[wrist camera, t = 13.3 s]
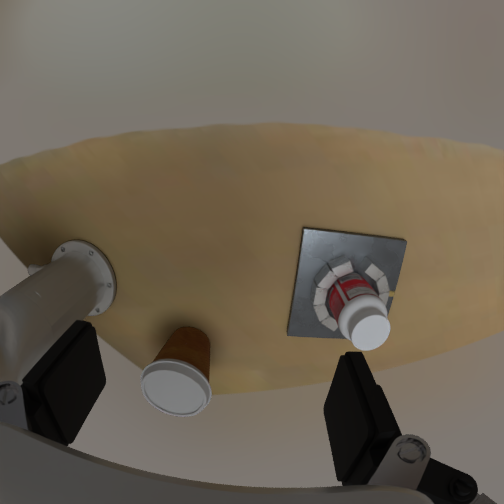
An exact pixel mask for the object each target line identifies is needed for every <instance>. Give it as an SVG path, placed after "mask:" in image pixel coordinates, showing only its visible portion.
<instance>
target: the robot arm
mask: <svg viewBox="0 0 504 504" xmlns="http://www.w3.org/2000/svg"><path fill="white" fill-rule="evenodd" d="M28 273H29V275H31V276H29V277H28V278H26V279H25V280H23V281H22V282H20V283H19V284H17V285H16V286H14V287H13V288H11V289H10V290H9V291H7V292H6V293H4V294H3V295H2V296H0V504H497V503H495V502H494V501H493V500H491V499H490V498H489V497H488V496H486V495H485V494H484V493H482V494H481V495H479V494H478V493H477V492H478V488H477V483H476V481H475V480H474V479H473V478H472V477H471V476H470V475H468V474H465V473H463V472H461V471H459V470H456V469H454V468H452V467H450V466H447V465H445V464H443V463H441V462H439V461H436V460H434V459H432V458H430V455H431V451H430V447H429V446H428V444H427V442H426V441H424V440H423V439H422V438H420V437H419V436H415V435H409V434H406V435H402V434H401V431H400V429H399V427H398V424H397V422H396V420H395V417H394V415H393V413H392V410H391V408H390V406H389V403H388V401H387V399H386V397H385V394H384V392H383V390H382V388H381V386H380V385H377V384H376V382H375V380H374V378H373V375H372V373H371V371H370V369H369V366H368V364H367V362H366V360H365V358H364V355H363V353H362V352H346V353H345V355H341V356H340V359H339V362H338V365H337V368H336V371H335V374H334V378H333V381H332V384H331V387H330V390H329V393H328V396H327V398H326V401H325V404H324V416H325V421H326V426H327V431H328V436H329V441H330V446H331V451H332V455H333V461H334V466H335V471H336V477H337V480H338V481H342V485H343V486H333V487H314V488H266V487H247V486H233V485H224V484H215V483H207V482H200V481H193V480H187V479H181V478H176V477H170V476H165V475H160V474H156V473H151V472H147V471H143V470H139V469H135V468H131V467H128V466H124V465H120V464H117V463H114V462H110V461H107V460H104V459H101V458H98V457H94V456H92V455H89V454H86V453H83V452H81V451H78V450H75V449H72V448H70V447H67V446H68V444H71V443H72V442H73V441H74V440H75V438H76V436H77V434H78V432H79V430H80V429H81V427H82V425H83V423H84V421H85V419H86V418H87V416H88V414H89V412H90V411H91V409H92V407H93V405H94V403H95V402H96V400H97V399H98V397H99V395H100V393H101V392H102V390H103V388H104V386H105V384H106V377H105V372H104V368H103V364H102V360H101V355H100V351H99V345H98V341H97V335H96V330H95V328H94V327H92V324H91V323H90V322H86V321H83V320H84V319H85V317H86V316H87V315H88V316H94V315H99V314H101V313H103V312H104V311H106V310H107V309H108V308H109V307H110V305H111V304H112V302H113V300H114V298H115V294H116V280H115V275H114V272H113V269H112V267H111V265H110V263H109V261H108V260H107V258H106V257H105V256H104V254H103V253H102V252H101V251H100V250H99V249H98V248H96V247H95V246H93V245H92V244H90V243H88V242H85V241H81V240H71V241H67V242H66V243H64V244H62V245H61V246H59V247H58V248H57V249H56V251H55V252H54V254H53V256H52V259H51V263H49V264H48V265H46V264H45V265H43V266H40V265H35V264H30V265H29V267H28Z"/></svg>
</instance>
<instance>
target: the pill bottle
mask: <svg viewBox="0 0 504 504" xmlns="http://www.w3.org/2000/svg"><path fill="white" fill-rule="evenodd" d="M326 296H327V301H328V304H329V306H330V309H331V311H332V313H333V315H334V318H335V320H336V322H337V325H338V327H339V329H340V331H341V333H342V334H343V335H344V336H345V337H346V338H347V339H349V340H351V341H352V343H353V345H354V346H355V347H356V348H358V349H360V350H372V349H375V348H377V347H379V346H380V345H381V344H383V343H384V342H385V340H386V339H387V337H388V336H389V333H390V323H389V321H388V319H387V309H386V306H385V304H384V303H383V301H382V300H381V299H380V297H379V296H378V295H377V293H376V292H375V291H374V290H373V288H372V287H371V286H370V285H369V283H368V282H367V281H366V280H365V279H364V278H363V277H362V276H361V275H360V274H357V273H354V272H351V273H349V274H346V275H344V276H342V277H339V278H337V280H336V281H335V282H334V283H333V284H332V286H331V287H330V288H329V289H328V291H327V295H326Z"/></svg>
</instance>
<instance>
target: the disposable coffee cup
mask: <svg viewBox="0 0 504 504" xmlns="http://www.w3.org/2000/svg"><path fill="white" fill-rule="evenodd" d="M209 369H210V341H209V339H208V337H207V336H206V335H205V334H204V333H203V332H202V331H200V330H198V329H196V328H193V327H182V328H179V329H177V330H176V331H175V332H174V333H173V335H172V336H171V337H170V339H169V340H168V341H167V343H166V344H165V345H164V347H163V348H162V350H161V351H160V352H159V354H158V355H157V356H156V358H155V359H154V361H153V362H152V363H151V364H149V365H147V366H146V368H145V369H144V370H143V372H142V374H141V388H142V393H143V395H144V397H145V398H146V400H147V401H148V402H149V403H150V404H151V405H152V406H153V407H155V408H156V409H158V410H159V411H161V412H163V413H166V414H169V415H173V416H180V417H188V416H193V415H196V414H198V413H199V412H201V411H202V410H203V409H204V407H205V406H206V405H208V403H209V402H210V400H211V396H212V393H211V387H210V384H209Z"/></svg>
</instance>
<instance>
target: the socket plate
mask: <svg viewBox="0 0 504 504" xmlns="http://www.w3.org/2000/svg"><path fill="white" fill-rule="evenodd" d="M406 244H407V241H406V240H404V239H399V238H392V237H384V236H376V235H368V234H360V233H352V232H344V231H335V230H326V229H318V228H308V227H303V231H302V238H301V245H300V252H299V259H298V266H297V272H296V279H295V285H294V292H293V298H292V304H291V310H290V316H289V322H288V327H287V336H298V337H317V338H342V339H347V338H346V337H345V336H344V335H343V334H342V333H341V331H340V329H339V327H338V325H337V322H336V320H335V318H334V315H333V313H332V311H331V309H330V306H329V304H328V301H327V296H326V295H327V291H328V289H329V288H330V287H331V286H332V284H333V283H334V282H335V281H336V280H337V278H339V277H342V276H344V275H346V274H349V273H351V272H354V273H357V274H360V275H361V276H362V277H363V278H364V279H365V280H366V281H367V282H368V283H369V285H370V286H371V287H372V288H373V290H374V291H375V292H376V293H377V295H378V296H379V297H380V299H381V300H382V301H383V303H384V304H385V306H386V309H387V316H388V313H389V310H390V307H391V303H392V300H393V296H394V293H395V289H396V285H397V282H398V278H399V274H400V270H401V266H402V262H403V257H404V253H405V249H406Z"/></svg>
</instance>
